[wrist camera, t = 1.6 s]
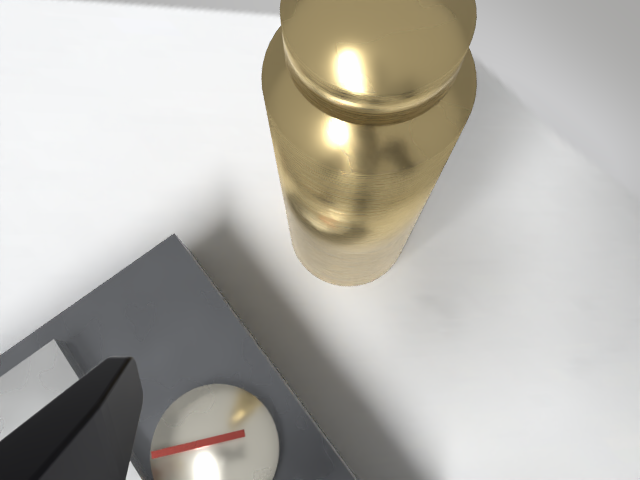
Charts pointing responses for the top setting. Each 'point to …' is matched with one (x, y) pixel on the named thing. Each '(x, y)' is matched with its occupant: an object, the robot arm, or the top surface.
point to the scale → (175, 377)
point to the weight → (364, 122)
